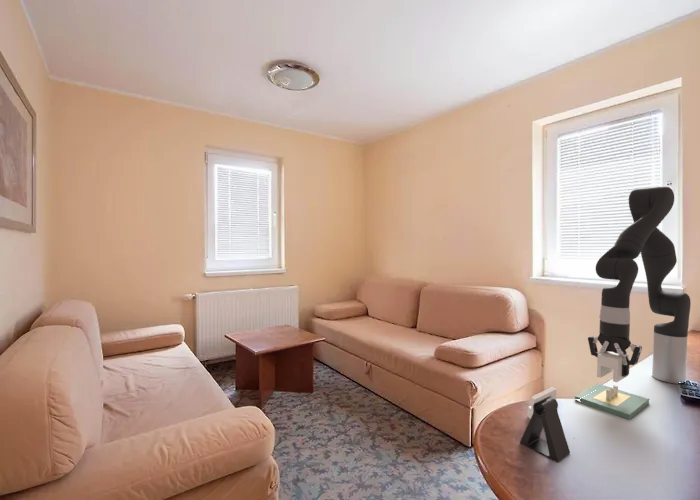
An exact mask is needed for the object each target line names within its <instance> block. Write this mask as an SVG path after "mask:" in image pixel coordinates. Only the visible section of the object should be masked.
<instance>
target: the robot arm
mask: <svg viewBox="0 0 700 500" xmlns="http://www.w3.org/2000/svg"><path fill="white" fill-rule="evenodd" d="M674 204H675V192H674V190H673V189H672V188H671V187H670V186H654V187H641V188H635V189H633V190H632V191H631V192H630V193H629V196H628V207H629V210H630V215H631V218H632V221H633V223H631V224H630V225H628V226H627V227H626V228H624V229H623V230H622V231H621V233H620V234H619V236H618V237H617V239H616V241H615V243H614V244H613V246H612V247H611V248H610V249H608V250H607V251H606V252H605V253H604V254H603V255H602V256H600V258H599V259H598V260H597V262H596V265H595V273H596V274H597V276H598V277H599V278H601V279H604V280H615V281H619V282H618V283H617V285H615V286H607V287H604V288H602V290H601V305H600V311H599V331H598V332H599V334H598V336H594V335H592V336H591V335H590V336H589V337H587V341H588V345H589V351H590V355H591V356H593V357H595V358H596V359H597V358H598V354H601V353H606V352H614V353H617V354H618V355H619V357H622V363H623V365H622V376H623V377H625V378H627V377H628V376H629V374H630V366H635V365H637V364H638V362H639V359H640V356H641V353H642V350H643V346H642V345H636V344H634V343H632V342H631V340H630V332H631V331H630V330H631V329H630V327H631V325H630V324H631V311H630V302H631V301H630V299H631V297H630V296H631V292H632V289H633V286H634V283H635V281H636V279H637V277H638V274H639V266H638V263H637V262H636V261H635V260H636V259H637V258H639V255H641V260H642V263H643V268H644V272H645V278H646V283H647V284H646V285H647V295H648V305H649V308H650V310H651V311H652V313H654V314H657V315H661V316H668V317H674V318H673V320H672V321H670V322H664V323H663V322H662V323H661V322H660V323H656V324H654V327H653V343H652V374H651V376H652V377H653V378H654V379H655V380H659V381H663V382H665V383H669V384H670V383H671V384H675V385H679V384H678V383H679V382H680V381H686V382H687V365H688V364H687V360H688V356H687V355H688V332H689V325H690V324H689V323H690V322H689V321H690V312H691V298H690V296H689V294H688V293H687V292H681V291H680V292H679V291H669V290H663V288H662V283H663V282H664V280H665V278H666V277H667V276H668V275H669V274H670V273H671V271H672V270H673V269H674V268H675V266H676V265H677V262H678V261H677V260H678V259H677V253H676V248H675V244H674V242H673V241H672V240H671V238H669V237H668V236H667V235H666V234H665V233H664V232H662V231H661V230H660V229H659V228H658V226H659V225H660V224H661V223H662V222H663V221H664V220H665V218H666V217H667V216H668V215H669V213H670V211H671V210H672V208H673V206H674ZM598 342H599V343H600V345H601V348H600V350H599V351H598V347H597V343H598ZM629 348H630V350H631V352H632V354H631V357H629V358H628V354H629V353H628V352H627V349H629ZM620 353H621V354H620ZM627 375H628V376H627ZM626 376H627V377H626Z"/></svg>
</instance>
